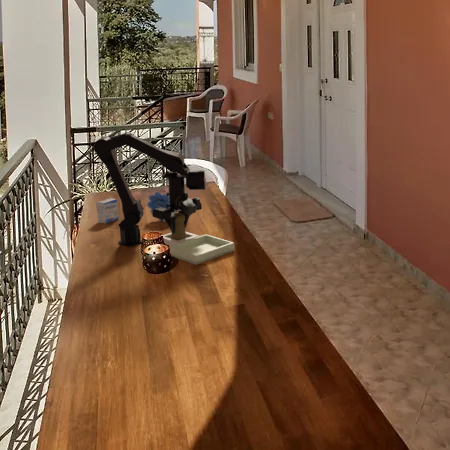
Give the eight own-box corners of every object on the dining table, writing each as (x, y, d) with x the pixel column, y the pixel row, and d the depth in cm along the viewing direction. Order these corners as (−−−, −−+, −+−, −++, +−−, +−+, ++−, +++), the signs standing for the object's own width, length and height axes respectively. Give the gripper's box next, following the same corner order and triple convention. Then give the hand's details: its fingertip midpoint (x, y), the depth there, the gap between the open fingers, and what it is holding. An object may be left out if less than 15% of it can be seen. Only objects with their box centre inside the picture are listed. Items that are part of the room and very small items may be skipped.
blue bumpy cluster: (144, 222, 233) (142, 194, 229) (150, 218, 239) (149, 190, 235) (172, 224, 230) (170, 195, 226) (177, 219, 236) (176, 191, 233)
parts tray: (195, 264, 186) (195, 256, 186) (168, 254, 196) (167, 246, 195) (234, 250, 199) (234, 242, 198) (206, 242, 208) (206, 234, 207)
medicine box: (105, 224, 232) (103, 203, 230) (97, 222, 234) (95, 201, 232) (119, 219, 238) (117, 198, 236) (111, 217, 241) (109, 197, 238)
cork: (178, 246, 204) (177, 216, 201) (167, 243, 208) (165, 213, 205) (190, 242, 208) (189, 213, 205) (179, 238, 212) (177, 210, 209)
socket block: (177, 249, 201) (177, 242, 200) (158, 243, 208) (158, 236, 207) (199, 242, 208) (199, 235, 207) (180, 236, 215) (180, 229, 214)
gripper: (171, 198, 191) (173, 243, 195) (211, 188, 203) (212, 230, 208) (150, 193, 198) (152, 236, 203) (190, 184, 211) (191, 224, 215)
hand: (178, 232), depth 207 cm, fingers closed on cork, 4 cm apart
